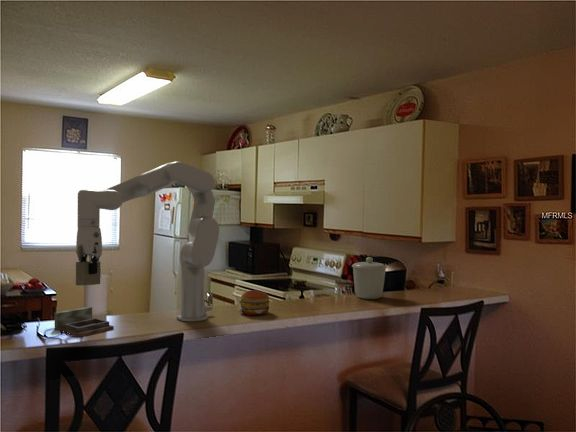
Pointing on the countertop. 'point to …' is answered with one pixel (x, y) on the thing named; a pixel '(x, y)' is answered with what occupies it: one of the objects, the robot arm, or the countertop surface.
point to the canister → (369, 279)
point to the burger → (254, 303)
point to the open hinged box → (80, 322)
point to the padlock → (86, 271)
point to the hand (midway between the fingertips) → (88, 272)
